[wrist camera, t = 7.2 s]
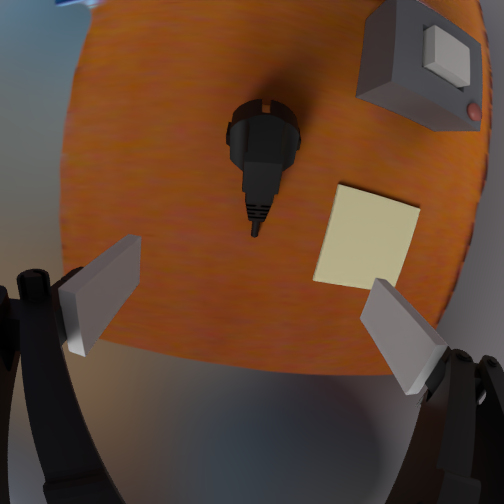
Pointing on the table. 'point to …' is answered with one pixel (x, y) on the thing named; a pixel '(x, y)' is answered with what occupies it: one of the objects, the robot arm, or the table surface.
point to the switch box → (416, 69)
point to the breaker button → (446, 57)
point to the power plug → (262, 152)
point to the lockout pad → (365, 239)
